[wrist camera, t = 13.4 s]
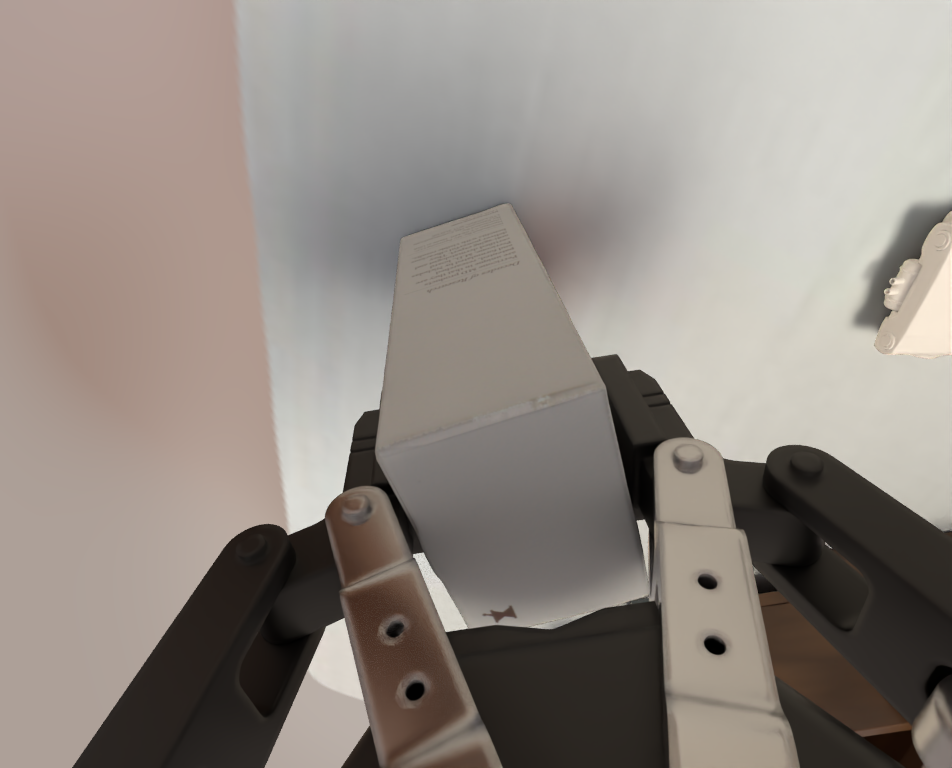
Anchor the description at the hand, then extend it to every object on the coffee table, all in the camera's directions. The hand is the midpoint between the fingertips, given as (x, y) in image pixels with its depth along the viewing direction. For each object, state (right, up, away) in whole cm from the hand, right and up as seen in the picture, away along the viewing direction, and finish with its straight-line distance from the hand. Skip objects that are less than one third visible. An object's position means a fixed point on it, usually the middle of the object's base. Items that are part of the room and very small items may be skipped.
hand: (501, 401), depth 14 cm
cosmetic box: (-1, +4, +6) cm, 8 cm away
